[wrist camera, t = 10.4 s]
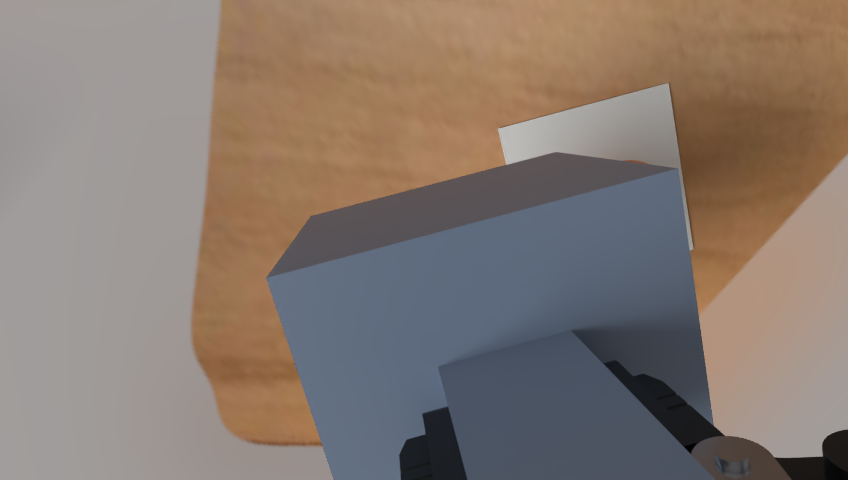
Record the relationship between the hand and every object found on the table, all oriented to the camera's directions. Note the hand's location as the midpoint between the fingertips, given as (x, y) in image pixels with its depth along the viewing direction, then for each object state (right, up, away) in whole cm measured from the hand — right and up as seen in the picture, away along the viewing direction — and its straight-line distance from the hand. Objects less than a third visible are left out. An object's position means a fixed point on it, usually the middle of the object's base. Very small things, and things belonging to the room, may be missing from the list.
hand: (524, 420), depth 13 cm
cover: (-1, +2, +9) cm, 9 cm away
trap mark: (+10, +8, +24) cm, 27 cm away
